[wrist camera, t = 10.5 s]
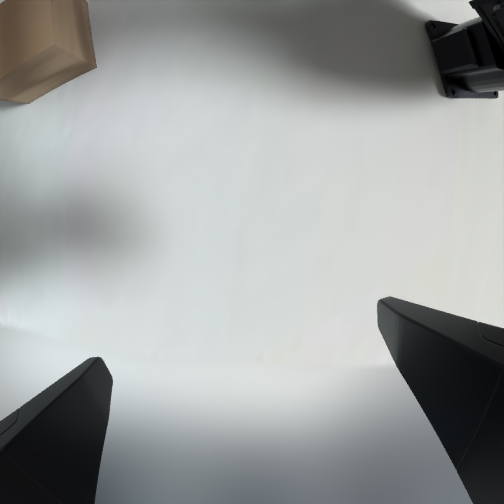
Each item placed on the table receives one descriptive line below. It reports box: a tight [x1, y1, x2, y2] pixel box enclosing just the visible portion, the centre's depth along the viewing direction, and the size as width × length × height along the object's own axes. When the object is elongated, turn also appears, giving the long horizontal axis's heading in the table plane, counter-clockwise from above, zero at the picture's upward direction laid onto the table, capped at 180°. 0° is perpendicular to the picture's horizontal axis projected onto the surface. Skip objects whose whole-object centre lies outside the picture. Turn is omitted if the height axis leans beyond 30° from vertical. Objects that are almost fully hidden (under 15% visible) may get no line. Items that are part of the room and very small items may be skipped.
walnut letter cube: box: [0, 0, 97, 104], centre depth 12 cm, size 6×6×6 cm
